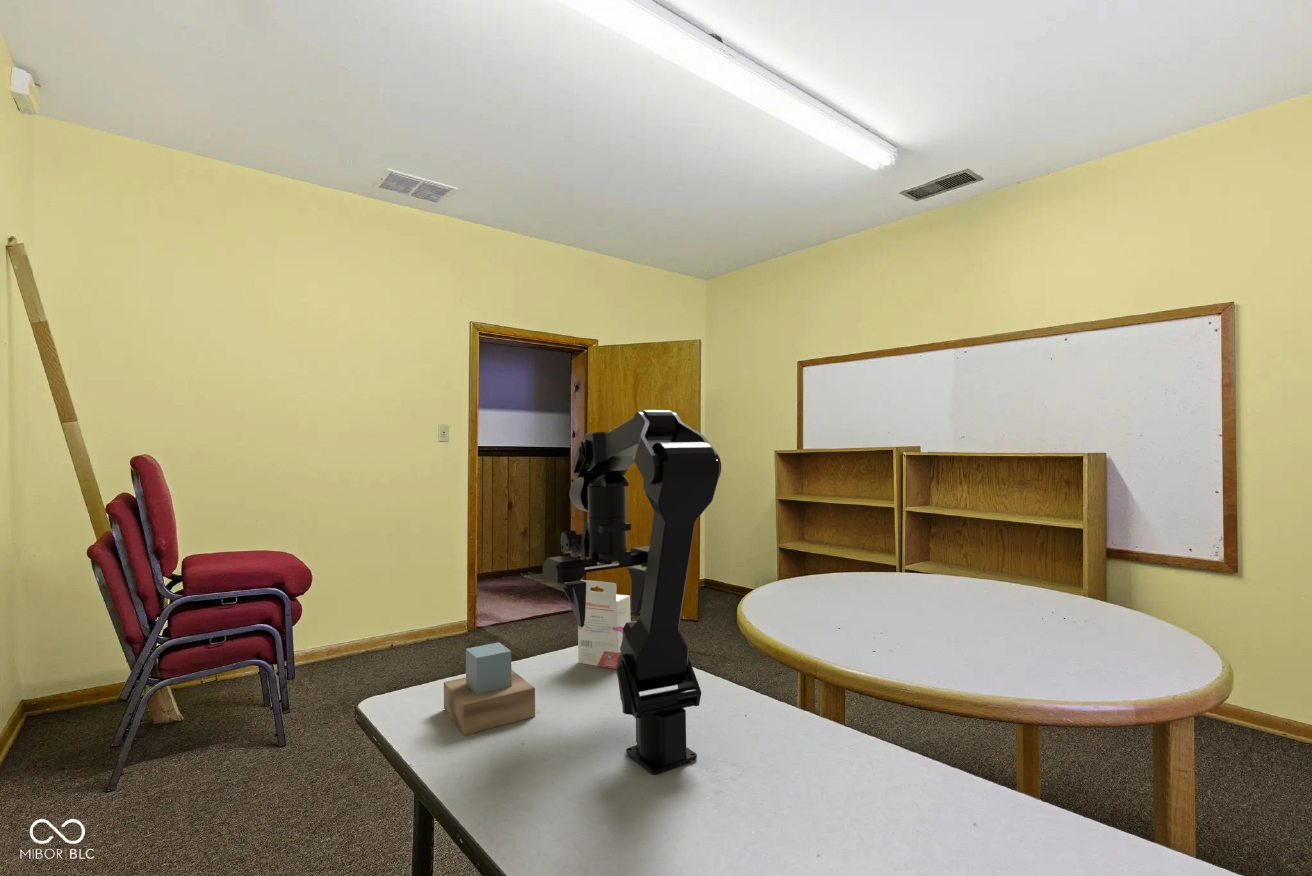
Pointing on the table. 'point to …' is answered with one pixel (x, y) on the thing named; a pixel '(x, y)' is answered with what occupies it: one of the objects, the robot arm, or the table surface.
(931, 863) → the table surface
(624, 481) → the robot arm
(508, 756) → the table surface
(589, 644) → the ink cartridge box
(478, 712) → the walnut block
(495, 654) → the slate block
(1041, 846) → the table surface
